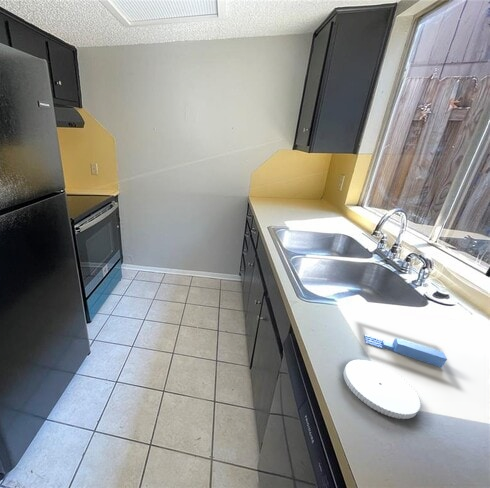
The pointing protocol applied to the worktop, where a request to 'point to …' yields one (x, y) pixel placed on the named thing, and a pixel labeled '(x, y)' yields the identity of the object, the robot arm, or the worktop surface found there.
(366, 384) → the plastic lid
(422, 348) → the blue brush
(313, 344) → the worktop surface
